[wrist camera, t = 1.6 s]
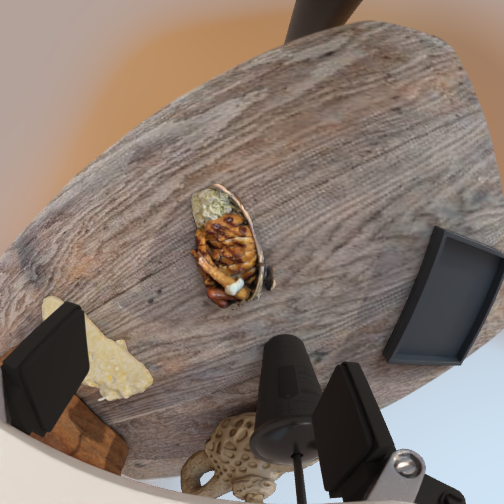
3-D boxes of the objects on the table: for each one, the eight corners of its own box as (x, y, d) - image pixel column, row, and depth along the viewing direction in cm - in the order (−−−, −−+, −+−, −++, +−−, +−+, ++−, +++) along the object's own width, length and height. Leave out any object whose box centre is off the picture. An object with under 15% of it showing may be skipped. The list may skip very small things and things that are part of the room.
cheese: (51, 322, 35) (78, 420, 29) (20, 308, 29) (46, 422, 23) (133, 283, 38) (173, 387, 32) (111, 261, 31) (152, 387, 25)
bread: (101, 452, 43) (83, 496, 32) (1, 353, 36) (-34, 391, 24) (143, 445, 41) (126, 499, 29) (26, 328, 34) (-19, 374, 22)
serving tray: (435, 225, 28) (444, 230, 26) (502, 252, 29) (511, 257, 27) (382, 353, 34) (387, 363, 32) (454, 357, 34) (460, 365, 32)
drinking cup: (238, 356, 34) (226, 513, 15) (278, 312, 31) (299, 481, 13) (288, 382, 35) (304, 525, 16) (329, 343, 33) (376, 492, 14)
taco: (234, 175, 27) (231, 178, 24) (279, 285, 31) (282, 302, 27) (168, 204, 28) (156, 211, 25) (218, 307, 31) (213, 325, 28)
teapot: (301, 369, 34) (319, 472, 20) (333, 415, 37) (354, 500, 23) (169, 418, 38) (147, 500, 24) (214, 454, 41) (205, 528, 27)
